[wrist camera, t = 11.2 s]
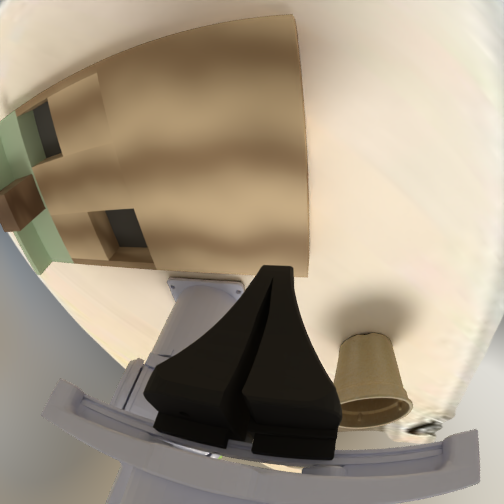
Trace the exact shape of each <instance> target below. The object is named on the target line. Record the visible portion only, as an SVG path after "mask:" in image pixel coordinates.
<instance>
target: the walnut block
mask: <svg viewBox="0 0 504 504" xmlns="http://www.w3.org/2000/svg"><path fill="white" fill-rule="evenodd" d="M45 209H46V208H45V206H44V203H43V201H42V198H41V196H40V194H39V191H38V188H37V186H36V183H35V181H34V178H33V175H32V174H30V175H27V176H25V177H22V178H19V179H16V180H14V181H13V182H11V183H10V184H9V185H7V186H6V187H5V188H3V189H2V190H1V191H0V223H1V225H2V227H3V230H4V231H5V232H14V231H21V230H22V229H23V228H24V227H25V226H27V225H28V224H29V223H30V222H31V221H32V220H33V219H34V218H35V217H37V216H38V215H39V214H40V213H41V212H42V211H43V210H45Z"/></svg>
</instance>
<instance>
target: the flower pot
mask: <svg viewBox="0 0 504 504" xmlns="http://www.w3.org/2000/svg"><path fill="white" fill-rule="evenodd" d="M334 386H335V387H336V391H337V394H338V397H339V400H340V403H341V408H342V421H341V423H340V425H339V427H342V428H353V429H358V428H371V427H378V426H382V425H386V424H390V423H392V422H395V421H397V420H399V419H401V418H403V417H405V416H406V415H408V414H409V413H410V412H411V410H412V408H413V404H412V401H411V400H410V399H408V396H407V392H406V390H405V389H404V388H403V385H402V381H401V377H400V373H399V369H398V365H397V362H396V358H395V354H394V350H393V346H392V343H391V341H390V339H389V338H387V337H386V336H384V335H381V334H378V333H370V334H368V335H359V334H358V335H355V336H353V337H351V338H349V339H347V340H346V341H345V342H344V343H343V344H342V345H341V347H340V350H339V358H338V364H337V369H336V374H335V379H334Z"/></svg>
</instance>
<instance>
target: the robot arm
mask: <svg viewBox="0 0 504 504" xmlns="http://www.w3.org/2000/svg"><path fill="white" fill-rule="evenodd" d="M167 283H168V285H169V288H170V290H171V293H172V295H173V297H174V300H175V302H176V303H175V305H174V307H173V309H172V311H171V313H170V315H169V317H168V319H167V321H166V323H165V325H164V327H163V329H162V331H161V333H160V335H159V337H158V340H157V342H156V344H155V346H154V348H153V350H152V352H151V353H150V354H149V356H148V359H147V361H146V363H145V364H143V362H144V360H142V359H140V358H137V360H132V361H130V363H129V364H128V366H127V368H126V370H125V371H124V373H123V375H122V378H121V380H120V382H119V384H118V386H117V388H116V391H115V393H114V395H113V397H112V400H111V402H110V404H107V403H105V402H102V401H100V400H98V399H95V398H93V397H91V396H88V395H86V394H84V392H83V391H82V390H81V389H80V388H78V387H77V386H75V385H74V384H72V383H70V382H68V381H66V380H64V379H61V378H60V379H59V381H58V382H57V384H56V386H55V388H54V390H53V392H52V394H51V395H50V398H49V399H48V401H47V403H46V405H45V407H44V409H43V411H42V413H41V416H42V417H44V418H45V419H47V420H48V421H50V422H51V423H52V424H54V425H56V426H57V427H59V428H60V429H62V430H63V431H65V432H66V433H68V434H70V435H71V436H73V437H75V438H77V439H78V440H80V441H82V442H84V443H85V444H87V445H89V446H91V447H93V448H94V449H96V450H98V451H100V452H102V453H104V454H106V455H108V456H110V457H112V458H114V459H116V460H118V461H120V463H121V467H120V469H119V471H118V474H117V476H116V479H115V481H114V483H113V486H112V488H111V491H110V493H109V496H108V498H107V501H106V503H105V504H396V503H402V502H408V501H414V500H420V499H425V498H429V497H434V496H438V495H442V494H446V493H450V492H454V491H457V490H460V489H464V488H467V487H470V486H473V485H476V484H478V483H479V482H480V459H479V458H480V457H479V441H478V430H476V429H474V430H470V431H466V432H461V433H457V434H453V435H450V436H448V437H447V438H445V439H444V440H443V441H440V442H434V443H428V444H421V445H414V446H406V447H397V448H385V449H368V450H335V443H336V439H337V432H338V427H339V425H340V423H341V421H342V408H341V403H340V400H339V397H338V394H337V391H336V387H335V386H334V384H333V382H332V381H331V379H330V378H329V376H328V374H327V373H326V371H325V369H324V367H323V366H322V364H321V362H320V360H319V358H318V356H317V354H316V352H315V350H314V348H313V346H312V344H311V341H310V339H309V337H308V334H307V332H306V329H305V327H304V324H303V321H302V318H301V315H300V311H299V308H298V304H297V300H296V296H295V291H294V268H293V267H292V266H280V265H263V266H262V267H261V268H260V270H259V271H258V273H257V274H256V276H255V278H254V279H253V280H252V282H251V283H250V285H249V286H248V288H247V289H246V290H244V285H243V284H242V283H240V282H232V281H216V280H200V279H186V278H172V277H171V278H169V279H168V280H167ZM238 290H240V291H238ZM253 439H254V440H253ZM252 442H253V443H252ZM220 456H226V457H231V458H237V459H242V460H248V461H254V462H261V463H269V464H278V465H287V466H300V467H305V468H303V469H302V474H301V473H292V472H285V471H278V470H271V469H266V468H260V467H254V466H249V465H244V464H239V463H234V462H230V461H225V460H220V459H218V458H219V457H220Z"/></svg>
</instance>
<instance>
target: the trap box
mask: <svg viewBox="0 0 504 504" xmlns="http://www.w3.org/2000/svg"><path fill="white" fill-rule="evenodd" d="M30 174H32V175H33V178H34V181H35V183H36V186H37V188H38V191H39V194H40V196H41V198H42V201H43V203H44V206H45V208H46V209H45V210H43V211H42V212H41V213H40V214H39V215H38V216H37V217H35V218H34V219H33V220H32V221H31V222H30V223H29V224H28V225H27V226H25V227H24V228H23V229H22V230H21V231H14V232H13V233H14V235H15V236H16V238H17V240H18V242H19V244H20V246H21V248H22V250H23V252H24V253H25V255H26V257H27V259H28V261H29V262H30V264H31V266H32V267H33V269H34V271H35V272H36V274H38V275H41V274H42V273H43V272H44V270H45V269H46V268H47V267H48V266H49V265H50V264H51V262H52V261H53V262H64V263H75V264H87V265H99V266H112V267H125V268H139V269H153V270H168V271H184V272H201V273H219V274H239V275H256V274H257V273H258V271H259V270H260V268H261V267H262V266H263V265H280V266H292V267H293V268H294V277H308V266H309V193H308V164H307V143H306V126H305V111H304V98H303V86H302V75H301V65H300V55H299V46H298V38H297V30H296V22H295V19H294V16H293V14H290V15H276V16H265V17H256V18H248V19H241V20H235V21H229V22H223V23H218V24H213V25H208V26H204V27H199V28H195V29H191V30H187V31H183V32H180V33H176V34H172V35H169V36H166V37H162V38H159V39H156V40H153V41H150V42H147V43H144V44H141V45H138V46H136V47H133V48H130V49H128V50H125V51H123V52H120V53H118V54H115V55H113V56H111V57H108V58H106V59H104V60H101V61H99V62H97V63H95V64H93V65H91V66H89V67H87V68H85V69H82V70H81V71H79V72H77V73H75V74H73V75H71V76H69V77H67V78H65V79H64V80H62V81H60V82H58V83H56V84H55V85H53V86H51V87H50V88H48V89H46V90H45V91H43V92H41V93H40V94H38V95H37V96H35V97H34V98H32V99H31V100H29V101H28V102H26V103H25V104H23V105H22V106H20V107H19V108H17V109H16V110H15V111H13V112H12V113H10V114H9V115H8V116H6V117H5V118H4V119H3V120H1V121H0V191H1V190H2V189H3V188H5V187H6V186H7V185H9V184H10V183H11V182H13V181H14V180H16V179H19V178H22V177H25V176H27V175H30Z"/></svg>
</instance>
